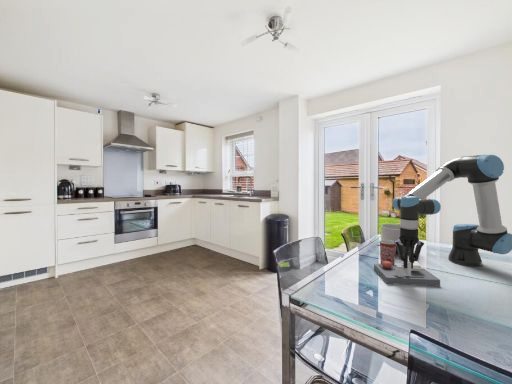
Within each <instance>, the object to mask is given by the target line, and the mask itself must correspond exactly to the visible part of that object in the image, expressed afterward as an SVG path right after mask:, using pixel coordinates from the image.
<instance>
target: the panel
mask: <svg viewBox="0 0 512 384" xmlns="http://www.w3.org/2000/svg"><path fill="white" fill-rule="evenodd" d="M396 265H397V264H394V265H392V268H384V267H383V266H382V263H374V264H373V270H374V271H375V272H376V273H377V274H378V276H380V278H381V279H382V281H384V282H385V284H389V285H390V284H391V285H392V284H393V285H410V286H411V285H414V286H431V287H432V286H433V287H441V279H440V278H438V277H436V275H434V274H433V273H431V272H430V271H428V270H427V269H425V268H424V271H411V276H408V275H407V274H405V268H404V273H403V277H398V276H397V275H396ZM401 265H402V266H403V264H401Z"/></svg>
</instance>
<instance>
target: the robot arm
mask: <svg viewBox="0 0 512 384" xmlns="http://www.w3.org/2000/svg"><path fill="white" fill-rule="evenodd" d="M504 169H505V165H504V162H503V160H502V159H501V158H500V157H499V156H497V155H495V154H478V155H467V156H459V157H455V158H453V159H451V160H448V161H447V162H446V163H444V164H442V165H440V166H439V167H437V168H436V169H435V172H434V173H432V174H431V175H430V176H428V177H427V178H426V179H425V180H423V181H422V182H421V183H419V184H418V185H416V186H415V187H414V188H412V189H411V190H410V191H408V192H407V193H406V194H404V195H403V196H396V197H394V198H393V200H392V203H391V204H392V208H394V209H395V210H397V211H399V212H400V213H399V214H400V217H399V218H400V219H399V224H400V226H401V228H400V237H399V240H397V241H394V243H395V244H396V247H397V251H398V253H397V254H398V255H397V256H398V259H399V260H401V262H403V264H402V265H403V267H404V268H405V274H407V275H408V276H411V268H413V263H414V261H417V262H418V260H419V258H420V254H421V251H422V248H423V246H425V245H424V244H425V243H424V242H423V241H421V240H419V219H420V216H427V215H430V216H431V215H436V214H438V213H440V211H441V209H442V208H441V207H442V206H441V203H440V202H439V200H437V199H433V198H432V199H431V198H428V199H426V198H427V197H428V196H430V195H432V193H435V192H436V190H439V188H441V187H442V186H444V185H445V184H446V183H447V182H448V183H449V182H451V181H454V180H455V179H459V178H467V183H468V184H470V185H472V189H473V194H474V199H475V200H474V201H475V205H476V206H475V207H476V212H477V218H478V223H479V224H475V223H458V224H457V223H456V224H454V225H453V229H452V248H451V250H450V252H449V254H448V256H447V257H448V259H447V260H448V261H450V262H451V263H453V264H457V265H462V266H466V267H481V266H482V265H483V261H482V258H481V255H480V252H479V250H481V251H482V250H483V251H486V252H490V253H493V254H499V255H507V254H509V253H510V252H511V251H512V233H510V232H508V227H506V226H505V225H503V222H502V221H503V220H502V216H501V210H500V204H499V197H498V193H497V186H496V183H497V182H498V180H499V179H500V177H501V176H502V175H503V173H504ZM400 242H401V243H402V244H403V253H402V249H401V246H400V244H401V243H400ZM408 249H409V252H408ZM408 257H409V261H408Z"/></svg>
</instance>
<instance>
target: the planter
mask: <svg viewBox="0 0 512 384" xmlns="http://www.w3.org/2000/svg"><path fill="white" fill-rule="evenodd" d="M380 227H381V228H380V240H391V241H397V240H399V237H400V228H401V226H400V223H399V224H398V223H384V224H383V223H382V224H381V226H380ZM400 243H401V242H400ZM400 246H401V249H402V253H403V244H402V243H401V244H400ZM408 253H409V249H408ZM395 254H398V251H397V247H396V252H395Z"/></svg>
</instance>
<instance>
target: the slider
mask: <svg viewBox="0 0 512 384" xmlns="http://www.w3.org/2000/svg"><path fill="white" fill-rule="evenodd" d="M395 265H396V275H397V276H398V277H403V273H404V267H403V266H402V265H403V264H395Z"/></svg>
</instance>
